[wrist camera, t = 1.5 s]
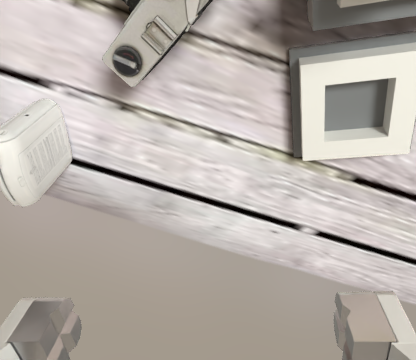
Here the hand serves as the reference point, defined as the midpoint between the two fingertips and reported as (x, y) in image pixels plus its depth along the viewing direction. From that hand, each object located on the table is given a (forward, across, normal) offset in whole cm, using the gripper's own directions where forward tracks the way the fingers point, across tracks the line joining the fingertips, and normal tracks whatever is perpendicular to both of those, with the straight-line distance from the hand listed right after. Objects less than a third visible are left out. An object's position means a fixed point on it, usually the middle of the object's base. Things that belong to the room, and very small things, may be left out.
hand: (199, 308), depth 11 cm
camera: (+34, +5, -9) cm, 36 cm away
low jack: (+34, -14, +5) cm, 37 cm away
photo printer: (+38, +26, +7) cm, 46 cm away
